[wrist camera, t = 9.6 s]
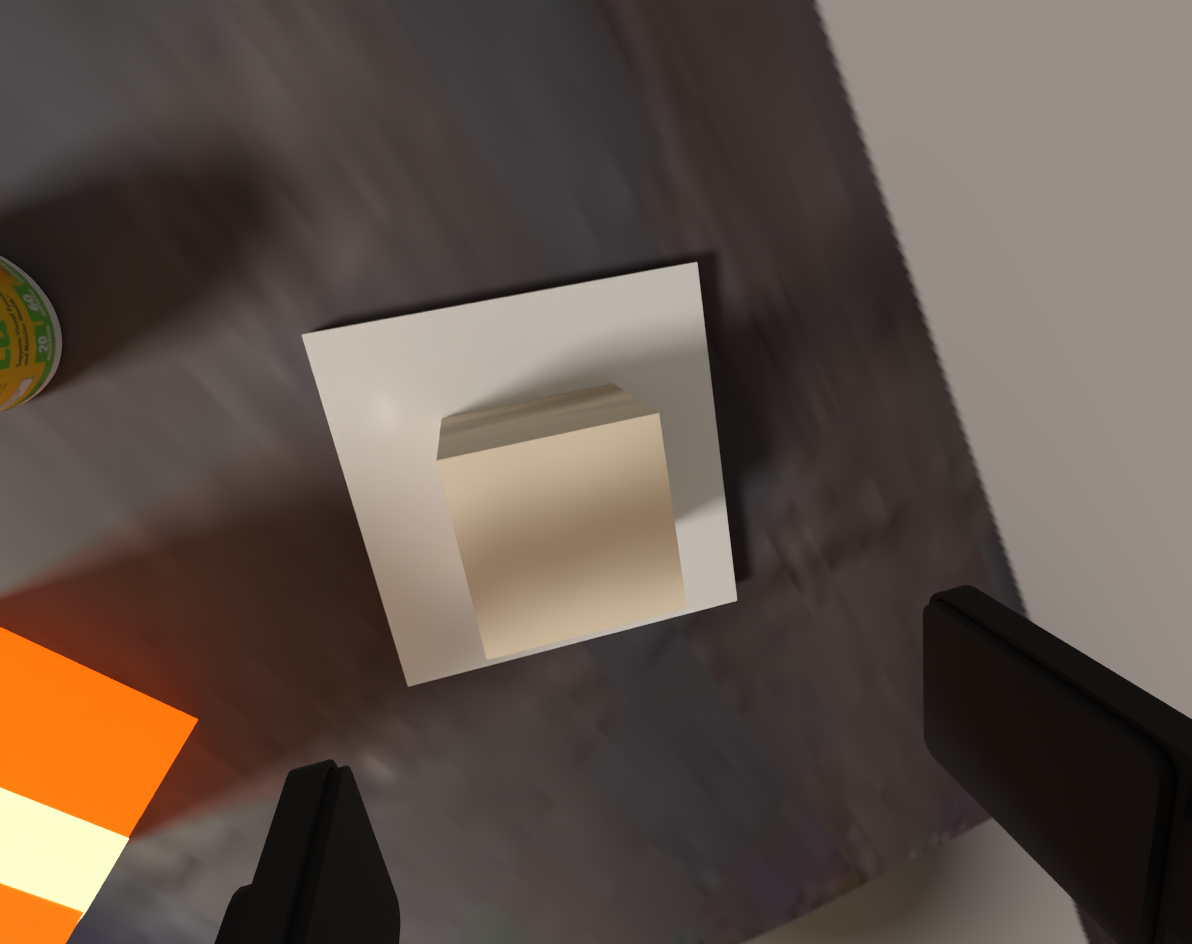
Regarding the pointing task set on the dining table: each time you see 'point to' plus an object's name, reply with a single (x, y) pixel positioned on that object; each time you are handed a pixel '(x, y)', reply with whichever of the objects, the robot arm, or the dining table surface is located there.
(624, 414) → the beech block
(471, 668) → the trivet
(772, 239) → the dining table surface
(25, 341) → the supplement bottle
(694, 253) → the dining table surface
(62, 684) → the orange juice
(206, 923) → the dining table surface
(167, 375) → the dining table surface
